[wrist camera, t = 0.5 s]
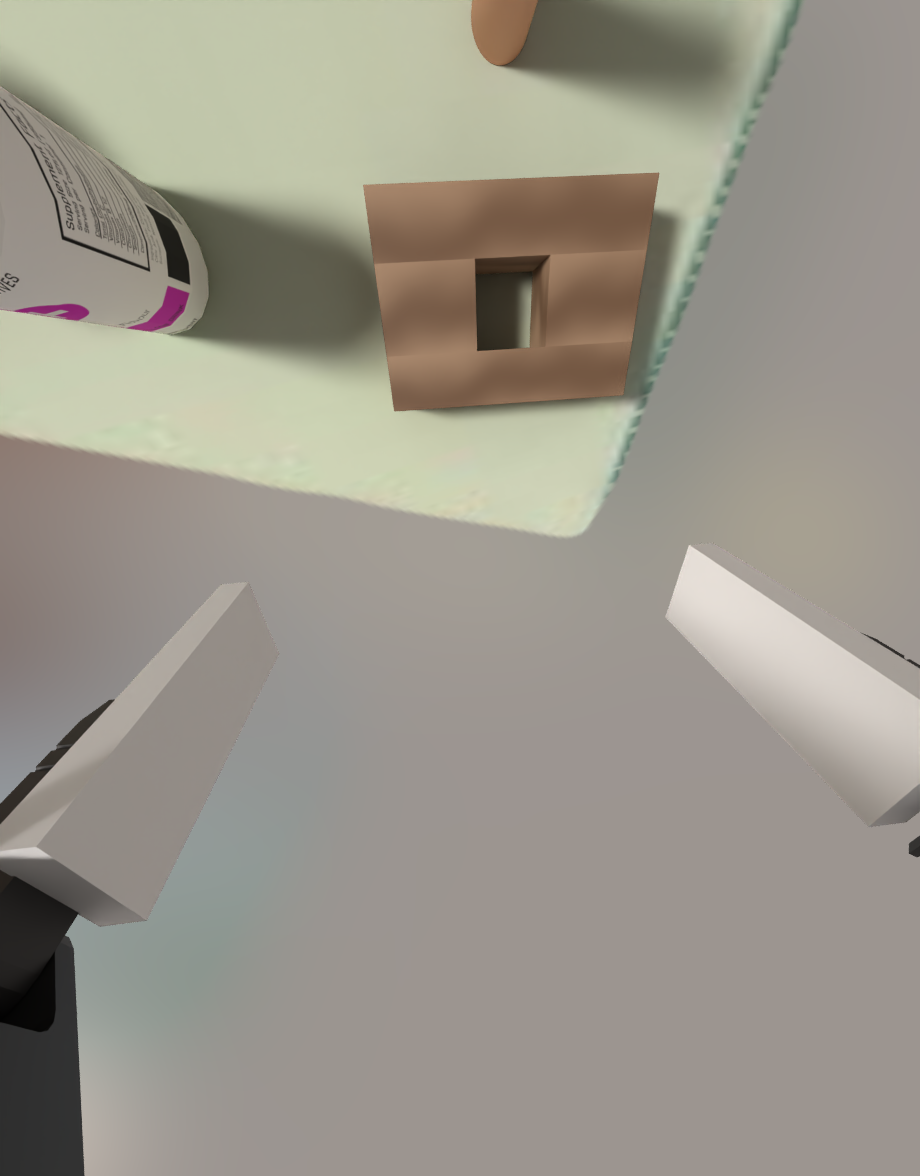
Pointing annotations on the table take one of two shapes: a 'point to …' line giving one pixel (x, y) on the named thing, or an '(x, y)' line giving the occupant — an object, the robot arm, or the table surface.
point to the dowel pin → (501, 27)
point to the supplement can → (89, 234)
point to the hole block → (505, 245)
